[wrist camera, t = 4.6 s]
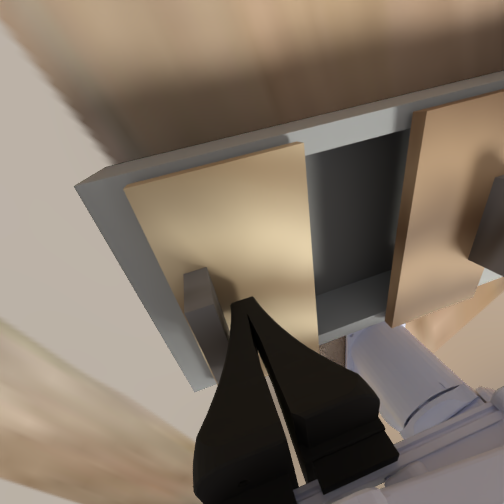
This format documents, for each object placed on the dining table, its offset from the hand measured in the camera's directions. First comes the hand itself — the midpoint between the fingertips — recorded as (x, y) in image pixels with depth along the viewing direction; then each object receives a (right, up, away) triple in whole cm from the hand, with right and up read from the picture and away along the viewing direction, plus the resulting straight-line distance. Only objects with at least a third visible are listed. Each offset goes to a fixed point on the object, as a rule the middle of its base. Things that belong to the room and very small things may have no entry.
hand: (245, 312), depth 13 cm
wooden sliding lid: (+14, +5, +3) cm, 15 cm away
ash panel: (0, +1, +2) cm, 2 cm away
